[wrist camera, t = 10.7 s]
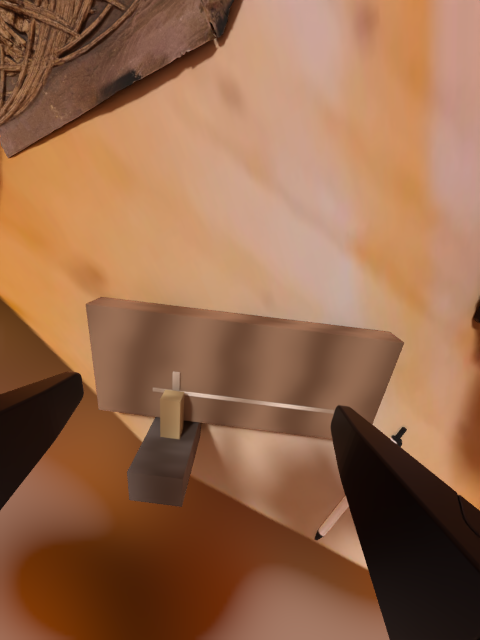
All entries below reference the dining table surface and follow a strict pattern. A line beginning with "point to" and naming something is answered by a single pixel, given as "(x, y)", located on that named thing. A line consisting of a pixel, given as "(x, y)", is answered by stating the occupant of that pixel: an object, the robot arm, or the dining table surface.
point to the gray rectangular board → (236, 366)
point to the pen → (344, 503)
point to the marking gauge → (165, 455)
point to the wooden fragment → (87, 55)
